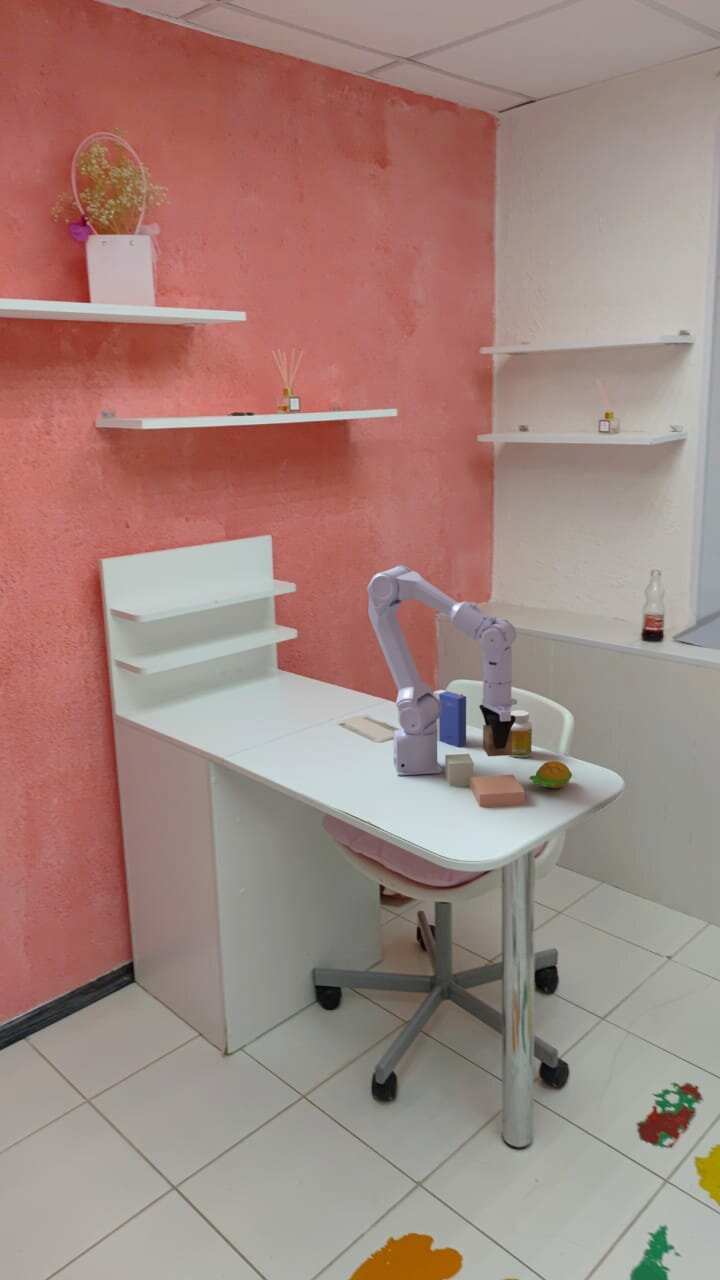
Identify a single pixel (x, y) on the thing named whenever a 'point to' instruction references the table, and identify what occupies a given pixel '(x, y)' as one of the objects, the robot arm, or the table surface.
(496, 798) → the tile block
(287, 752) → the table surface
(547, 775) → the orange green rounded dome
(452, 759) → the sage cube
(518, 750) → the supplement bottle
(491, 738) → the walnut cube
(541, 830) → the table surface
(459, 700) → the walkman
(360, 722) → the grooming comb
